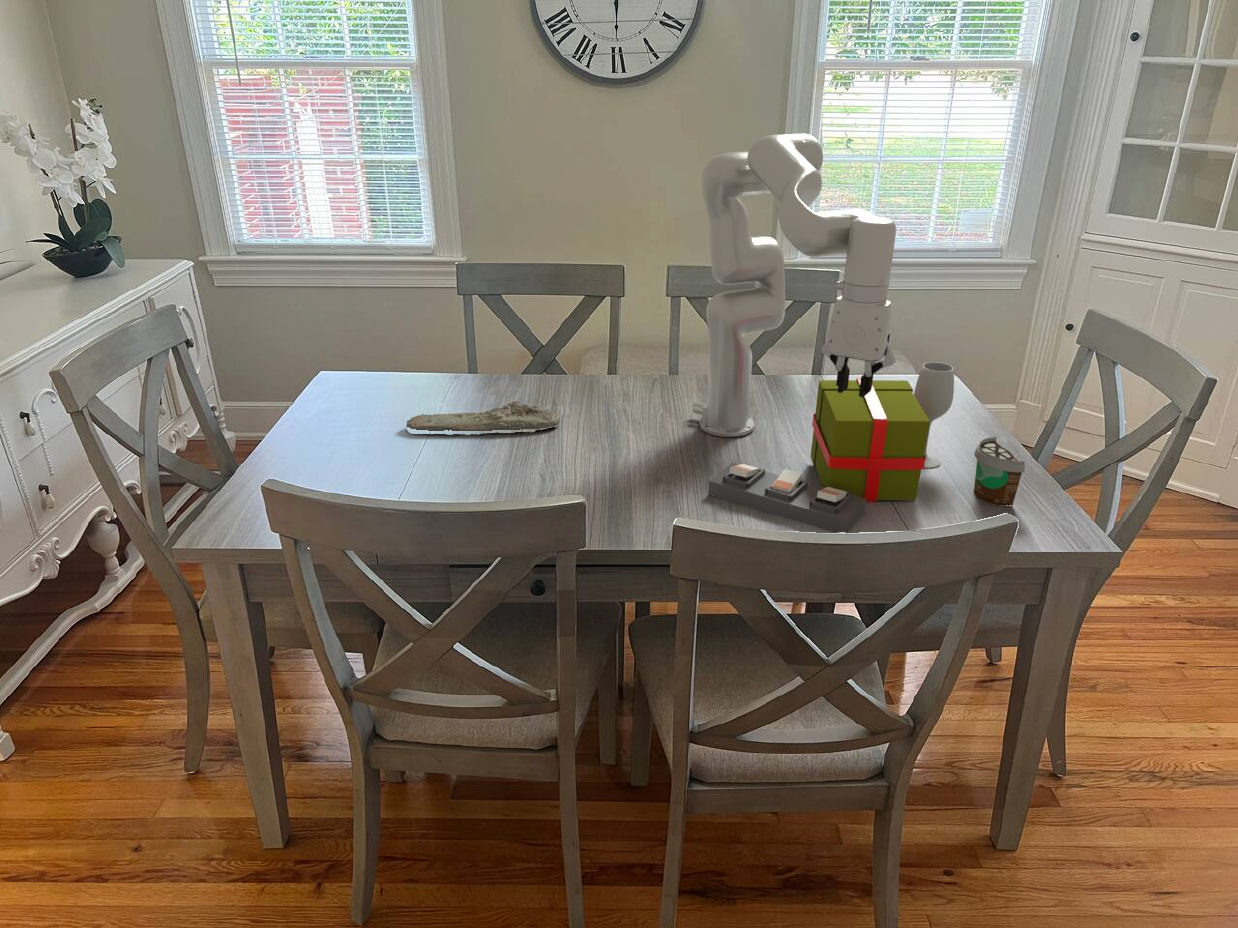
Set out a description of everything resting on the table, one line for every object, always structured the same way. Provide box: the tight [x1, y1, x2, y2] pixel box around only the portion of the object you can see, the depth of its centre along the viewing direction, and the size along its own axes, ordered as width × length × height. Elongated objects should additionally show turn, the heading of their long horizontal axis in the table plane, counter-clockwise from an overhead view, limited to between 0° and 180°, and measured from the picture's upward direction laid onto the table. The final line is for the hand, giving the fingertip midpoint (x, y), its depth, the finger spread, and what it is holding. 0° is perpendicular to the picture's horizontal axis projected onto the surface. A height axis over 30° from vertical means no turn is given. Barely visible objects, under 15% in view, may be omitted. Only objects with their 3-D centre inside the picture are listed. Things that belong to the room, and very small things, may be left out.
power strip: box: [708, 462, 867, 533], centre depth 169 cm, size 28×10×4 cm, turn 56°
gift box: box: [810, 377, 931, 503], centre depth 176 cm, size 21×21×25 cm
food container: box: [973, 436, 1026, 507], centre depth 170 cm, size 12×6×10 cm, turn 5°
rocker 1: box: [729, 463, 760, 477], centre depth 172 cm, size 4×6×1 cm, turn 146°
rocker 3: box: [817, 487, 847, 502], centre depth 163 cm, size 4×6×1 cm, turn 146°
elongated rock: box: [405, 400, 560, 431], centre depth 202 cm, size 35×5×10 cm
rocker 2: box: [772, 468, 803, 494], centre depth 167 cm, size 4×6×1 cm, turn 146°
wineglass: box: [913, 361, 955, 469], centre depth 182 cm, size 8×8×21 cm
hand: (853, 391), depth 159 cm, fingers open, 3 cm apart
